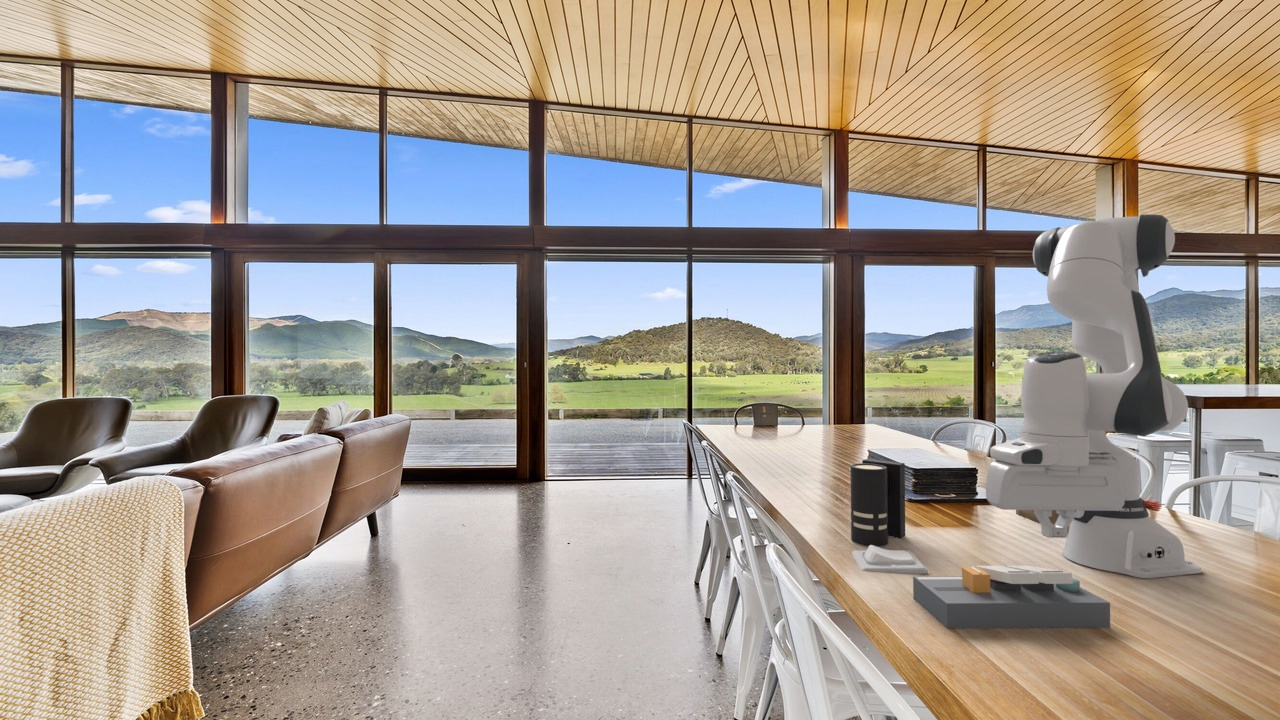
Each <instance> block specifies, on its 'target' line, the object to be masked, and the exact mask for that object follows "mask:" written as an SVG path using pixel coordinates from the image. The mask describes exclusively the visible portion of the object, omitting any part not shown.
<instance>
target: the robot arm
mask: <svg viewBox="0 0 1280 720" xmlns="http://www.w3.org/2000/svg"><path fill="white" fill-rule="evenodd" d="M1175 241H1176V234H1175V231H1174V229H1173V227H1172V226H1171V224H1170V223H1169V219H1168V218H1167V217H1166V216H1164V215H1161V214H1150V213H1149V214H1148V213H1145V214H1140V215H1139V216H1122V217H1111V218H1100V219H1097V220H1089V221H1087V220H1086V221H1083V222H1078V223H1076V224H1073V225H1070V226H1063V227H1060V226H1058V227H1055V228H1051V229H1049V230H1045V231H1044V232H1042V233H1041V234H1040V235H1039V236H1038V237H1037V238H1036V240H1035V243H1034V246H1033V250H1032V260H1033V264H1034V266H1035V268H1036V271H1037V272H1038V273H1039V274H1041V275H1042V276H1044V277H1048V278H1047V282H1046V292H1047V293H1046V296H1047V300H1048V302H1049V303H1050V305H1051V306H1052V308H1053V309H1054V310H1056V311H1057V312H1058V313H1059V314H1060V315H1062V316H1063V317H1064V316H1065V317H1066V318H1069V319H1070V320H1072V321H1071V322H1072V323H1071V324H1072V325H1071V345H1072V347H1073V349H1074V350H1075V352H1070V351H1047V352H1038V353H1035V354H1032V355H1030V356H1028V357H1027V358H1026V360H1025V364H1024V368H1023V375H1022V380H1021V381H1022V382H1021V395H1020V396H1021V397H1020V398H1021V399H1020V403H1021V404H1020V405H1021V409H1022V412H1023V422H1022V425H1021V430H1020V432H1021V435H1020V437H1018V438H1015V439H1011V440H1009V441H1005V442H1002V443H999V444H996V445H993V446H991V447H990V450H989V456H990V458H991V459H993V461H992V462H990V464H989V465H988V468H987V472H986V480H985V481H986V482H985V497H986V500H987V502H988V503H989V504H990V505H991V506H993V507H995V508H998V509H1000V510H1004V511H1005V510H1008V511H1011V510H1013V511H1014V510H1015V511H1016V510H1034V514H1035V516H1036V517H1037V519H1038V521H1039V522H1040V523H1039V524H1040V525H1041V528H1040V529H1041V530H1040V531H1041V535H1042V537H1046V538H1049V539H1051V538H1054V539H1055V538H1058V539H1059V538H1060V539H1062V538H1063V539H1066V541H1065V545H1064V548H1063V550H1062V556H1064V558H1066V559H1068V560H1070V561H1072V562H1074V563H1077V564H1079V565H1083V566H1087V567H1090V568H1093V569H1098V570H1102V571H1107V572H1114V573H1118V574H1124V575H1128V576H1131V577H1134V578H1135V577H1136V578H1140V579H1153V578H1162V577H1163V578H1164V577H1173V576H1184V575H1193V574H1201V573H1202V571H1203V570H1202V567H1200V566H1199V565H1198V564H1196V563H1195V562H1193V561H1191V560H1189V559H1186V558H1185V551H1184V550H1185V549H1184V546H1183V543H1182V541H1181V539H1180V538H1179V537H1178V536H1177V535H1176V534H1174V533H1173V532H1171V531H1170V530H1168V529H1167V528H1166V527H1164V526H1163V525H1162V524H1160V523H1158V521H1156V520H1155V519H1153V518H1152V517H1151V516H1150V514H1149V511H1148V510H1150V511H1153V512H1156V513H1157V512H1160V510H1161V509H1162V504H1160V502H1159V501H1156V500H1152V499H1147V500H1144V499H1143V498H1141V496H1140V464H1139V463H1138V461H1137V459H1136V458H1135V457H1134V456H1133V454H1131V453H1130V452H1128V451H1127V450H1125V449H1123V448H1121V447H1119V446H1118V445H1115V444H1114V443H1113V442H1112V441H1111V440H1110V439H1109V438H1108V437H1107V434H1106V432H1116V433H1118V434H1124V435H1132V436H1138V437H1147V436H1150V435H1152V434H1154V433H1156V432H1166V431H1168V432H1169V431H1172V430H1174V429H1176V428H1177V427H1179V426H1180V425H1181V424H1182V423H1183V422H1184V420H1185V419H1186V417H1187V414H1188V411H1189V404H1188V399H1187V397H1186V395H1185V393H1184V392H1183V390H1182V389H1181V388H1180V387H1179V386H1177V385H1176V384H1175V383H1174V382H1172V381H1170V380H1168V379H1167V378H1166V377H1163V373H1162V369H1161V364H1160V358H1159V352H1158V348H1157V347H1158V346H1157V342H1156V337H1155V333H1154V327H1153V323H1152V322H1153V321H1152V319H1151V316H1150V312H1149V311H1150V309H1149V307H1148V304H1147V302H1146V299H1145V297H1144V296H1143V294H1142V293H1141V292H1140V288H1139V283H1138V282H1139V281H1138V278H1137V274H1136V271H1138V270H1140V272H1141V275H1142V278H1145V277H1147V276H1148V275H1149V273H1150V271H1154V270H1155V269H1157V268H1159V267H1161V266H1162V265H1163V264H1164V263H1165V262H1166V261H1167V260H1168V259H1169V257H1170V254H1172V251H1173V249H1174V246H1175V243H1176V242H1175ZM1084 358H1085V359H1088V360H1089V361H1093V362H1096V363H1098V365H1099V366H1100V368H1101V369H1102V373H1101V372H1087V368H1086V364H1085V359H1084ZM1052 510H1057V514H1060V515H1059V517H1058V519H1057V521H1056V523H1055V524H1052V523H1051V521H1050V520H1049V518H1048V517H1051V516H1052ZM1067 527H1069V531H1068V535H1067Z"/></svg>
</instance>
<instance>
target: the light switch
mask: <svg viewBox="0 0 1280 720" xmlns="http://www.w3.org/2000/svg"><path fill="white" fill-rule="evenodd" d="M851 555H852V556H853V558H854V560H855V561H856V563H857V565H858V566H859V569H860V570H861V571H863V572H864V571H865V572H877V573H878V572H879V573H898V574H899V573H900V574H925V575H926V574H929V570H928V569H927V568H926V566H924V564H923V563H922V562H921V561H920V560H919V558H917V556H916V555H915V554H914V553H913V552H912V551H911V550H908V549H907V550H906V549H905V550H904V549H899V550H897V549H895V550H894V549H893V550H891V549H886V548H881V547H876V546H873V545H870V546H867V549H866V550H853V551H852V552H851Z"/></svg>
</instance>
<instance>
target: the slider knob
mask: <svg viewBox="0 0 1280 720" xmlns="http://www.w3.org/2000/svg"><path fill="white" fill-rule="evenodd" d="M961 576H962V585H963V586H965V587H966V588H967V589H969V590H970V591H972V592H973V593H990V574H988V573H986V572H985V571H983V570H982V569H980V568H978V567H974V566H969V567H967V566H966V567H961Z"/></svg>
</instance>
